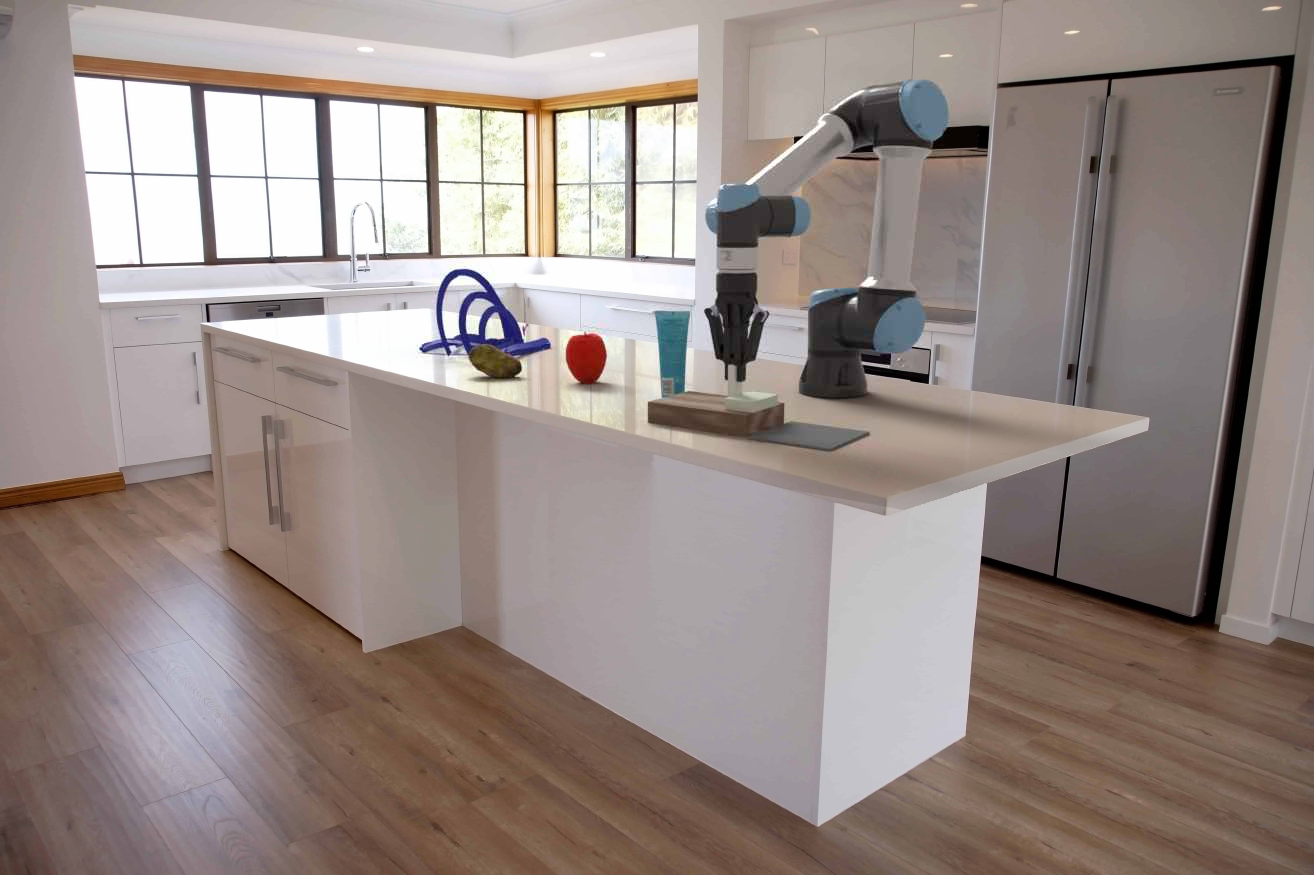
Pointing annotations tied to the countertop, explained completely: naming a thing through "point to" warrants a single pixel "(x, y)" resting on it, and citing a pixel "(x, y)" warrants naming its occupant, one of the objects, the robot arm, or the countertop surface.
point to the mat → (809, 435)
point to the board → (712, 414)
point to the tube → (672, 350)
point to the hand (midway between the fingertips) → (734, 398)
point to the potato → (494, 361)
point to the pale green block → (751, 401)
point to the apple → (586, 357)
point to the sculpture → (482, 322)
